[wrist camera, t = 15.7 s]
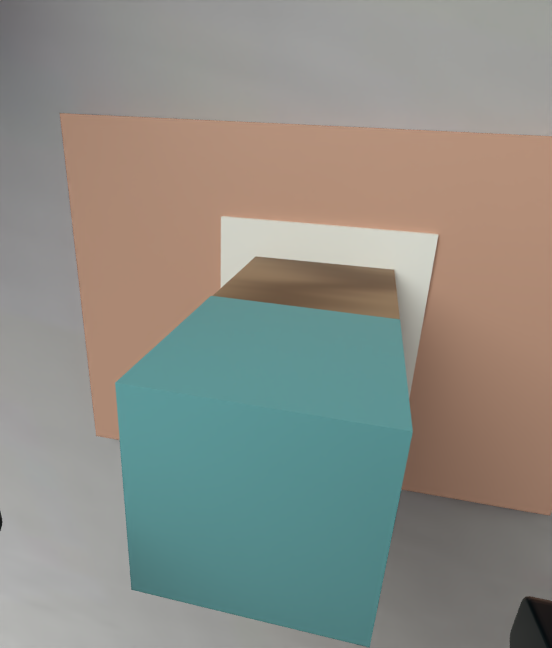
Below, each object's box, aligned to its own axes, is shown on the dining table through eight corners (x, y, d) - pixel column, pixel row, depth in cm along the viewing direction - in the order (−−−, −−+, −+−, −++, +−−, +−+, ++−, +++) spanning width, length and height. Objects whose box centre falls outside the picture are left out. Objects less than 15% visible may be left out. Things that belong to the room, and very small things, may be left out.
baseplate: (659, 142, 14) (682, 142, 13) (542, 498, 20) (551, 519, 19) (76, 114, 18) (56, 113, 17) (107, 424, 23) (93, 438, 22)
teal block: (400, 319, 12) (412, 431, 7) (373, 478, 14) (369, 647, 9) (211, 295, 13) (115, 382, 8) (209, 448, 14) (131, 589, 10)
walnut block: (394, 269, 16) (400, 319, 12) (376, 394, 18) (374, 478, 14) (255, 256, 17) (210, 297, 13) (251, 376, 19) (211, 450, 14)
